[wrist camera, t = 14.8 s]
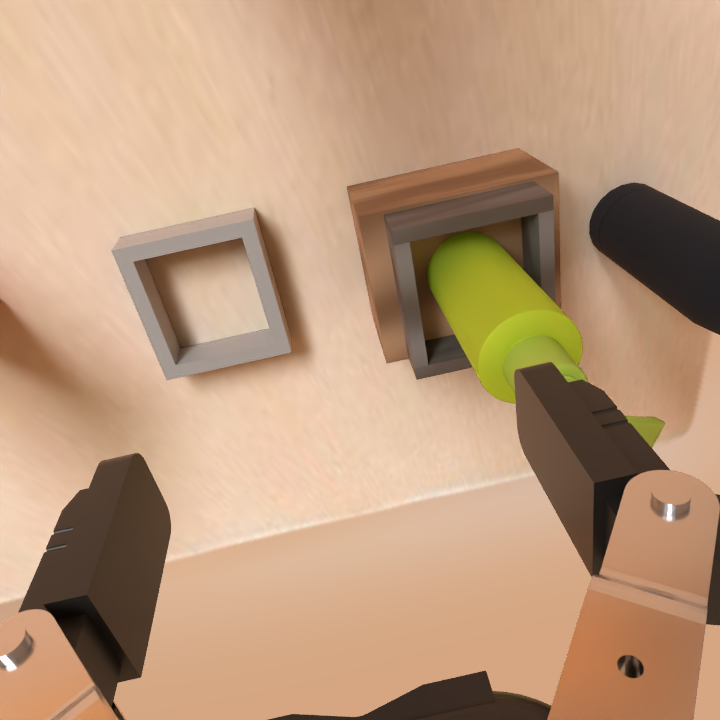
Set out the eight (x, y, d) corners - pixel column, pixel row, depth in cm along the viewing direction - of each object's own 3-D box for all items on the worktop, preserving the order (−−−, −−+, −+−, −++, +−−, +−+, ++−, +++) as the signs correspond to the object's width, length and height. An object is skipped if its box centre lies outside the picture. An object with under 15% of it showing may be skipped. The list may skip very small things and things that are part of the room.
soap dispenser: (503, 314, 46) (635, 493, 29) (417, 300, 45) (503, 480, 28) (530, 241, 44) (693, 391, 26) (439, 224, 42) (550, 370, 25)
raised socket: (346, 186, 48) (364, 232, 38) (518, 148, 48) (580, 185, 38) (373, 318, 54) (394, 387, 44) (525, 284, 54) (579, 346, 44)
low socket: (120, 237, 48) (111, 250, 46) (254, 207, 48) (252, 219, 46) (172, 362, 54) (166, 380, 52) (290, 336, 54) (291, 352, 52)
